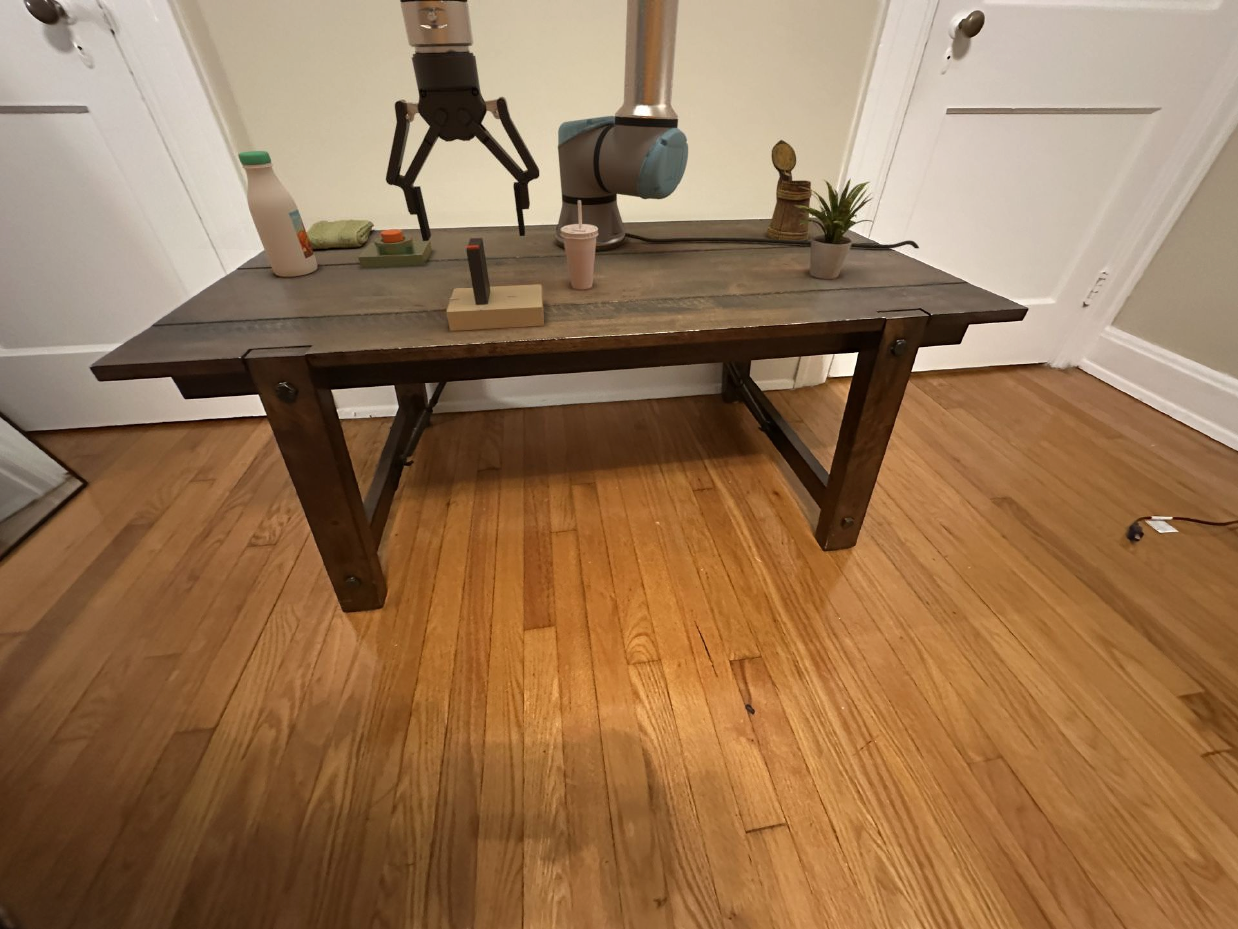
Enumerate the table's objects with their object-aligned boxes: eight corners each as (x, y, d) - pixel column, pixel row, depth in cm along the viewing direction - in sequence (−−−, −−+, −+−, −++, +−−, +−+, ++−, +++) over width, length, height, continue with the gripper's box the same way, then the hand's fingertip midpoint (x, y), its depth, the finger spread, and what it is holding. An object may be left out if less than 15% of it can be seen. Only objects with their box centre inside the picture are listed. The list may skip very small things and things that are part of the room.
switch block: (432, 251, 113) (428, 231, 110) (424, 265, 105) (419, 244, 102) (373, 253, 111) (368, 233, 109) (361, 268, 104) (355, 247, 101)
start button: (405, 237, 108) (403, 228, 107) (402, 243, 105) (399, 234, 103) (385, 238, 107) (383, 229, 106) (381, 244, 104) (378, 234, 103)
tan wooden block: (543, 301, 89) (541, 283, 87) (544, 326, 81) (542, 305, 79) (457, 306, 88) (453, 287, 86) (449, 331, 80) (445, 310, 78)
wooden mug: (783, 225, 128) (798, 138, 117) (816, 240, 118) (835, 146, 107) (750, 228, 126) (762, 140, 115) (780, 243, 116) (796, 148, 105)
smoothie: (572, 294, 92) (567, 206, 83) (558, 283, 96) (552, 198, 88) (605, 288, 94) (604, 201, 85) (590, 277, 98) (587, 194, 90)
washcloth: (376, 228, 128) (372, 214, 126) (364, 249, 114) (359, 233, 112) (318, 231, 126) (313, 217, 124) (299, 253, 112) (293, 237, 110)
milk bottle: (301, 279, 99) (255, 155, 87) (265, 276, 100) (215, 154, 88) (327, 266, 105) (288, 149, 93) (292, 264, 106) (249, 148, 94)
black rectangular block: (479, 291, 84) (469, 236, 79) (490, 290, 85) (482, 236, 80) (475, 304, 80) (465, 247, 75) (487, 304, 80) (478, 247, 75)
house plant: (810, 256, 108) (829, 165, 98) (877, 271, 100) (904, 174, 90) (772, 272, 100) (788, 175, 90) (840, 290, 92) (866, 186, 82)
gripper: (325, 52, 60) (380, 248, 73) (547, 48, 62) (562, 238, 75) (343, 52, 66) (392, 233, 79) (546, 48, 68) (560, 224, 81)
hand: (475, 236), depth 77 cm, fingers open, 13 cm apart
